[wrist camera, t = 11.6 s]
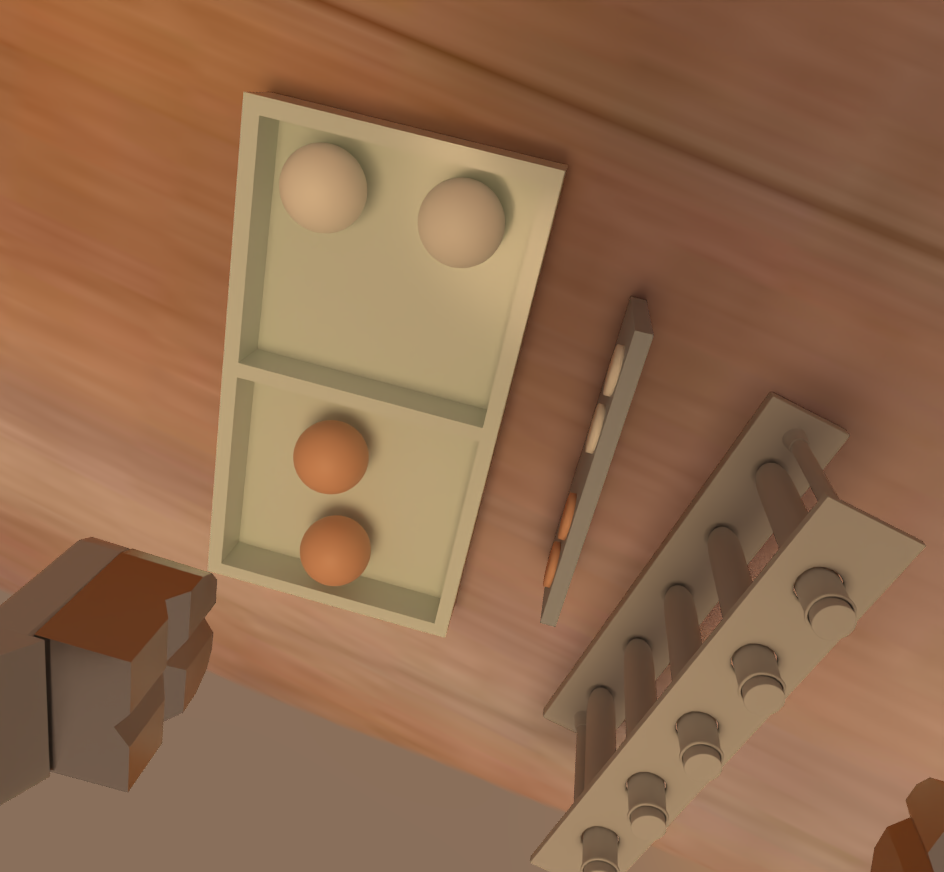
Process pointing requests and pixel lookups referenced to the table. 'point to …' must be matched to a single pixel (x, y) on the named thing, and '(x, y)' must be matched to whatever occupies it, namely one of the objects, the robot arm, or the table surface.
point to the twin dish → (369, 358)
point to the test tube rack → (715, 636)
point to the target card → (596, 455)
